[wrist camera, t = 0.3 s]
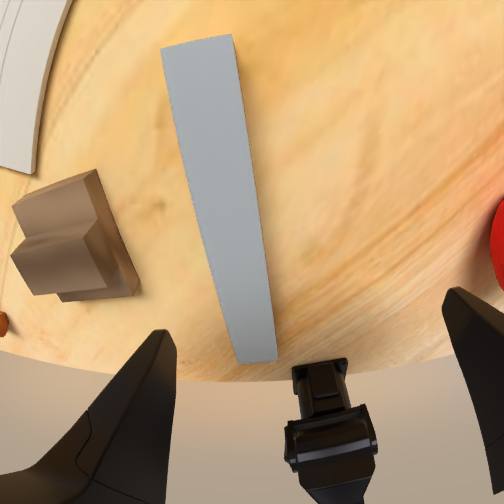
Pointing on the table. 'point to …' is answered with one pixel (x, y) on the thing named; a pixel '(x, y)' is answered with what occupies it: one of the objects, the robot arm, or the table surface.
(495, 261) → the tomato
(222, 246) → the slate stick
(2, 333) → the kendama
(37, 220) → the ridge block
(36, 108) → the baseboard molding
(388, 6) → the table surface
